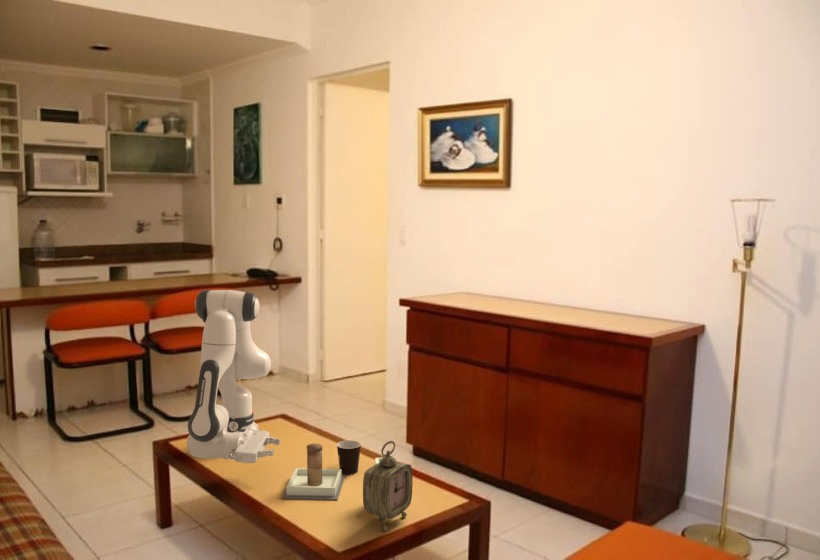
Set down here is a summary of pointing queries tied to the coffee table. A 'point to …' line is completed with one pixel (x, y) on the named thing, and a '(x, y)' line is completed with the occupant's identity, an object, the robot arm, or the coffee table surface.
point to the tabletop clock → (387, 487)
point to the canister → (314, 464)
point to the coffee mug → (349, 456)
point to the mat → (303, 497)
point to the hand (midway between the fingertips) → (276, 447)
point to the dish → (301, 487)
